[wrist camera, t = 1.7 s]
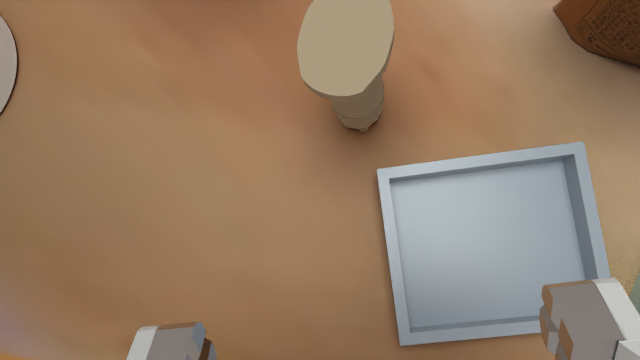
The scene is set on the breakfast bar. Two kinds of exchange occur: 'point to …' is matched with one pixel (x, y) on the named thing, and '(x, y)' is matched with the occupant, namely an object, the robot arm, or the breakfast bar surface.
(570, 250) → the tray
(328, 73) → the handle
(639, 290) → the right angle wall
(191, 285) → the breakfast bar surface
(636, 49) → the pancake mix bag
